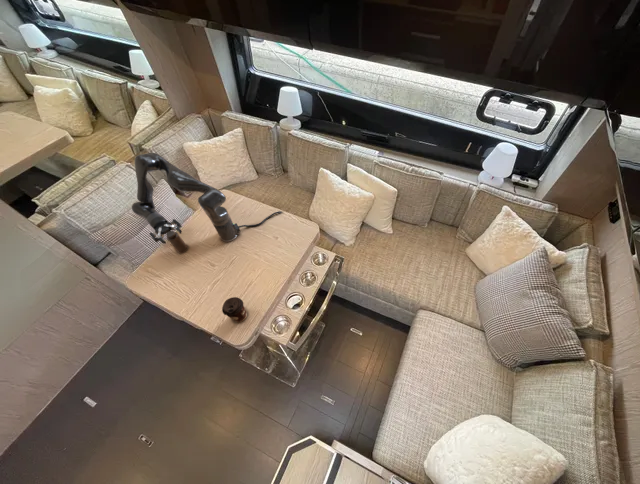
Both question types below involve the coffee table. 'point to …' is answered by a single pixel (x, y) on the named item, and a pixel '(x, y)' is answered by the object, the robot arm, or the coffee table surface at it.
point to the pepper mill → (176, 241)
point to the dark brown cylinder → (234, 309)
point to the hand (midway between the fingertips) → (172, 237)
